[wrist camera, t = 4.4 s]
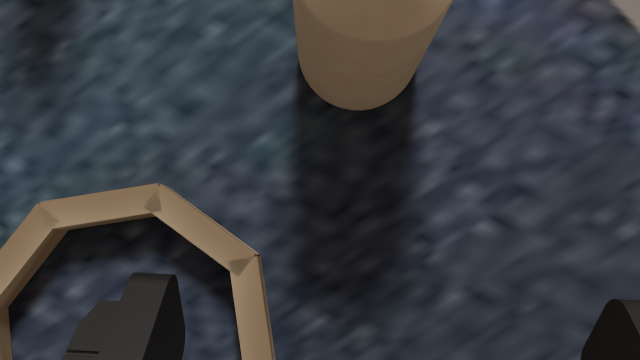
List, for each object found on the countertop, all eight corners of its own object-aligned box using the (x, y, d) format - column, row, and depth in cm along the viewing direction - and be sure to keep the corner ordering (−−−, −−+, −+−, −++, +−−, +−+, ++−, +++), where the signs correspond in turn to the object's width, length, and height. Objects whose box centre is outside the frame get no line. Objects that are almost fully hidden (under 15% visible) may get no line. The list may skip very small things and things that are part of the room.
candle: (388, -17, 27) (431, -180, 17) (434, 87, 26) (507, -18, 16) (280, 23, 26) (259, -118, 16) (324, 130, 26) (328, 49, 16)
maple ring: (-4, 512, 23) (-26, 529, 22) (-27, 218, 25) (-49, 215, 23) (290, 461, 24) (288, 474, 22) (248, 174, 25) (244, 169, 24)
